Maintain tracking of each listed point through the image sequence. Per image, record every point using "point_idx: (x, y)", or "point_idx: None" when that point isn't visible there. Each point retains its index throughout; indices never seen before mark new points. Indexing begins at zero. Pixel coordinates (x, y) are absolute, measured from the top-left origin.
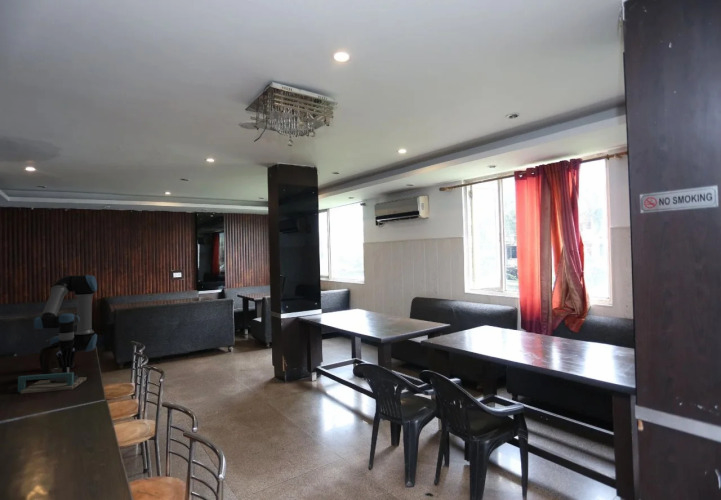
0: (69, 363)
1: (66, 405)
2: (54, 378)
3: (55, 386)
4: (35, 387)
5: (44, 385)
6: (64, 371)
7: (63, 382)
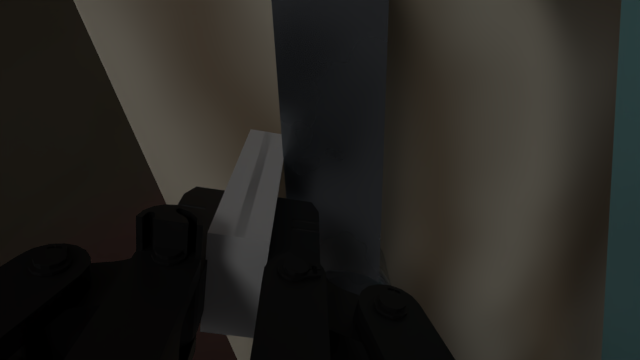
0: (154, 312)
1: None
2: (385, 275)
3: (589, 96)
4: (549, 317)
5: (482, 276)
6: (317, 231)
7: None
